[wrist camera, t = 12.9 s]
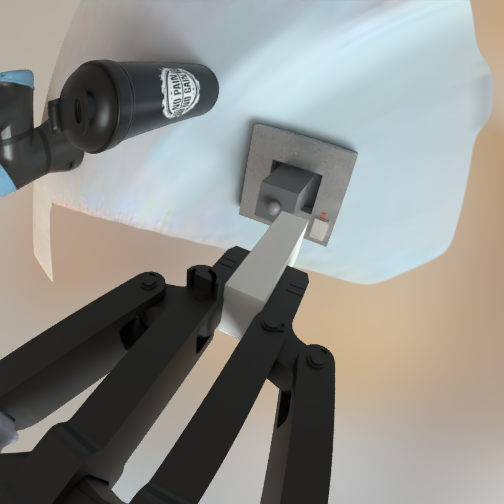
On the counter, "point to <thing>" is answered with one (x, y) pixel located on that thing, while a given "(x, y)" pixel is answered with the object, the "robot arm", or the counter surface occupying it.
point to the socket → (306, 157)
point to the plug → (283, 192)
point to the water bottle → (128, 100)
